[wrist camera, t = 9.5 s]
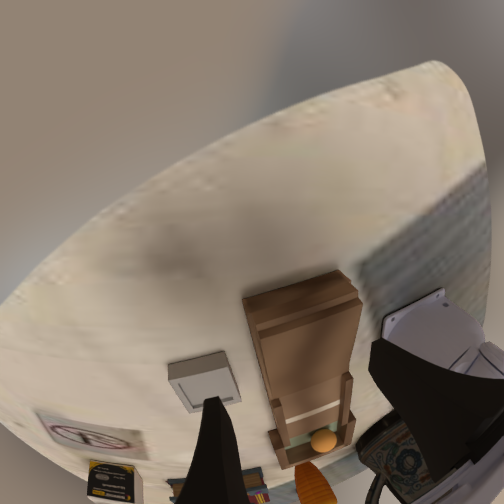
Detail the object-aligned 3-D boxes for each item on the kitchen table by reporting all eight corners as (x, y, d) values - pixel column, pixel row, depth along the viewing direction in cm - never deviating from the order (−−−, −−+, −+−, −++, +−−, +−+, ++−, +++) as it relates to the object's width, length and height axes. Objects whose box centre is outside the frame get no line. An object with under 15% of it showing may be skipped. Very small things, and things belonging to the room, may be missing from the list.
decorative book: (265, 483, 37) (272, 504, 32) (182, 495, 34) (185, 516, 30) (260, 465, 32) (268, 490, 28) (160, 477, 30) (162, 503, 25)
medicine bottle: (134, 465, 27) (136, 534, 16) (143, 480, 29) (147, 540, 18) (89, 458, 25) (85, 524, 14) (102, 475, 27) (101, 533, 16)
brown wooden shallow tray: (351, 265, 21) (379, 288, 18) (342, 429, 32) (353, 449, 29) (226, 303, 20) (235, 337, 16) (276, 453, 31) (284, 475, 27)
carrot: (278, 464, 33) (307, 539, 19) (293, 449, 32) (328, 530, 18) (303, 461, 34) (334, 530, 21) (319, 447, 33) (356, 520, 20)
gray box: (224, 351, 22) (227, 366, 20) (237, 386, 24) (241, 401, 22) (168, 364, 21) (167, 380, 19) (188, 398, 23) (189, 413, 21)
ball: (322, 420, 30) (344, 432, 28) (319, 432, 32) (339, 442, 29) (306, 437, 28) (328, 450, 26) (304, 448, 29) (324, 460, 27)
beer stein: (430, 406, 40) (490, 480, 18) (359, 461, 42) (404, 540, 20) (416, 386, 34) (497, 486, 11) (324, 456, 36) (379, 562, 13)
